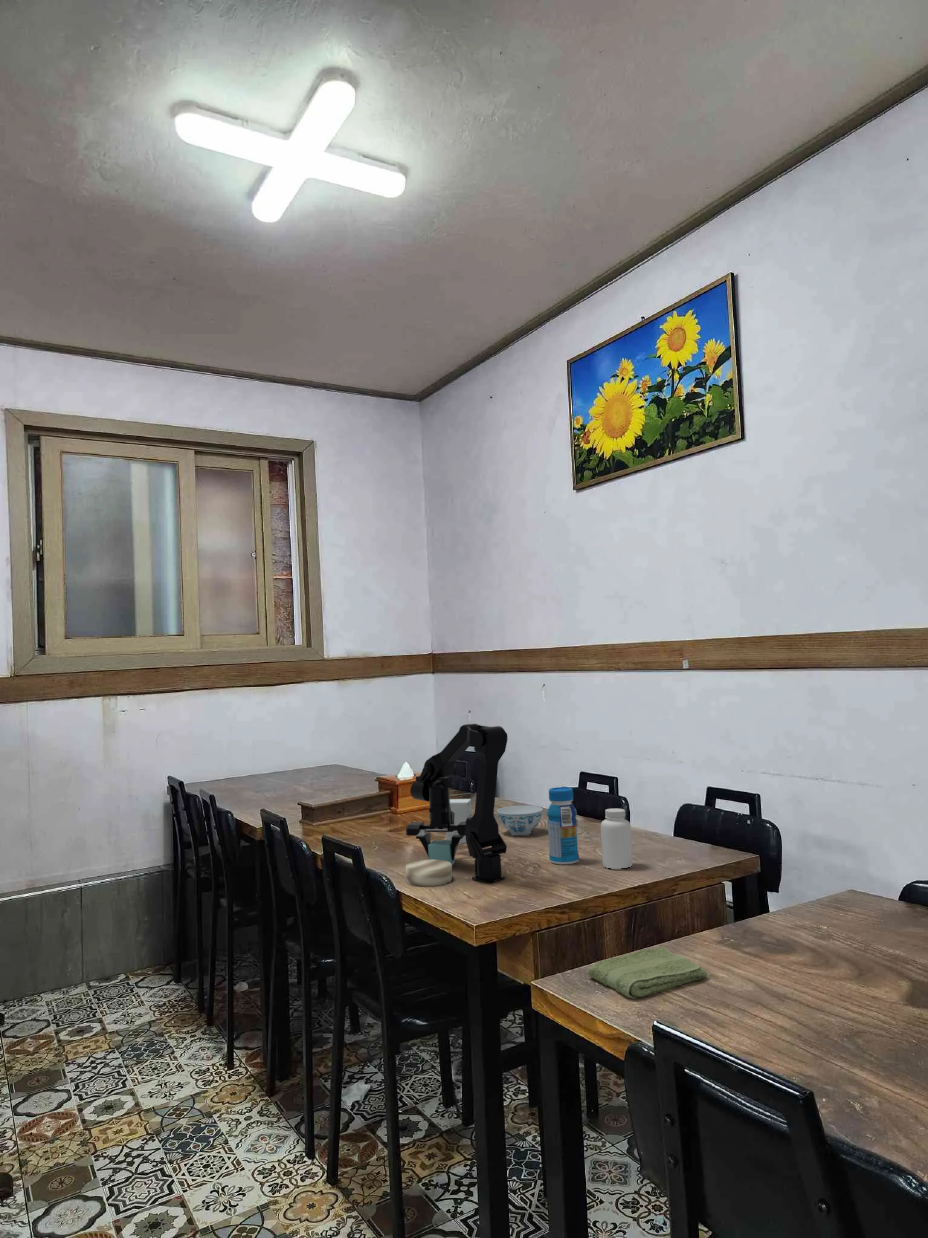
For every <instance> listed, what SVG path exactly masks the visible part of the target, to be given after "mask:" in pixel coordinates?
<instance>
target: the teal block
mask: <svg viewBox="0 0 928 1238" xmlns="http://www.w3.org/2000/svg"><path fill="white" fill-rule="evenodd" d="M451 848H452V840H446V839H445V840H443V839H442V840H441V839H440V840H439V839H438V840H432V841H431V843H430V844H429V845H428V853H429V857H428V860H444V861H448V862H450V863H451V864H452V866H453V865H454V864H455V862H456V857H455V858H454V860H452V856H451Z"/></svg>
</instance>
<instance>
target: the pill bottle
mask: <svg viewBox="0 0 928 1238" xmlns="http://www.w3.org/2000/svg"><path fill="white" fill-rule="evenodd" d="M604 811H605V813H604V814H605V819H604V820H602V822H601V823H600V836H601V837H600V838H601V839H600V841H601V860H602V861H601V862H602V866H603V868H605V867H606V868H605V869H608V868H611V869H610V870H622V869H621V868H626V867H630V868H632V867H633V850H632V849H633V847H632V828H631V827H632V825H631V823H630V821H628V819H626V810H625V809H623V808H607V809H605V810H604ZM631 866H632V867H631Z"/></svg>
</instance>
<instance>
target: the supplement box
mask: <svg viewBox="0 0 928 1238" xmlns="http://www.w3.org/2000/svg"><path fill="white" fill-rule="evenodd" d="M450 806H451V811H452V812H454V813H455V817H454V824H453V825H458V824H459V823H460V822H466V819H467V818H471V817H473V814H472V813H473V811H472V798H455V799H454V798H450ZM446 829H448V828H446ZM453 835H454V833H453V832H445V837H446V839H445V840H452V836H453ZM459 844H467V843H466V836H464V837H463V838H462V839H460V841H459Z"/></svg>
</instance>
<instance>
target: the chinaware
mask: <svg viewBox="0 0 928 1238" xmlns="http://www.w3.org/2000/svg"><path fill="white" fill-rule="evenodd" d="M543 810H544V809H543V808H542V807H540V806H536V805H535V806H533V805H512V806H503V807H501V808H498V809H496V814H497V818H498V820H499V822H500V823H501V825H502V826H503V828H505V829H506V830H507V831H509V832H510V835H512V836H516V835H523V836H529V835H530V834H532V831H534V829H535V828H537V826H538V825H539V823H540V822H541V820H542V816H543V812H544V811H543Z"/></svg>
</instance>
